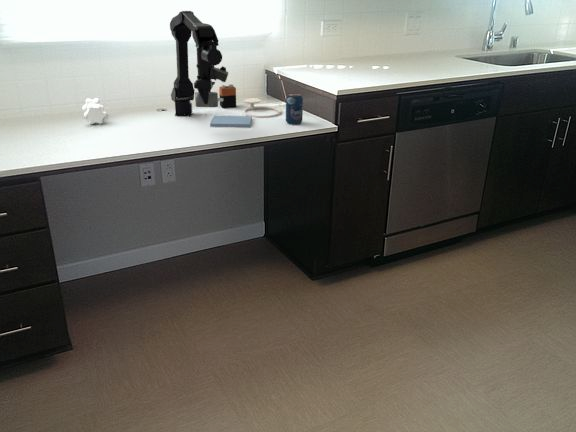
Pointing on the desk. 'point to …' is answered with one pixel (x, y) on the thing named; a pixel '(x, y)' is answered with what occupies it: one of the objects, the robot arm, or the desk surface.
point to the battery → (228, 96)
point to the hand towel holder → (254, 100)
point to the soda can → (294, 108)
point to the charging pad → (231, 121)
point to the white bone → (94, 111)
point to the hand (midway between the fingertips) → (206, 102)
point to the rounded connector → (212, 100)
